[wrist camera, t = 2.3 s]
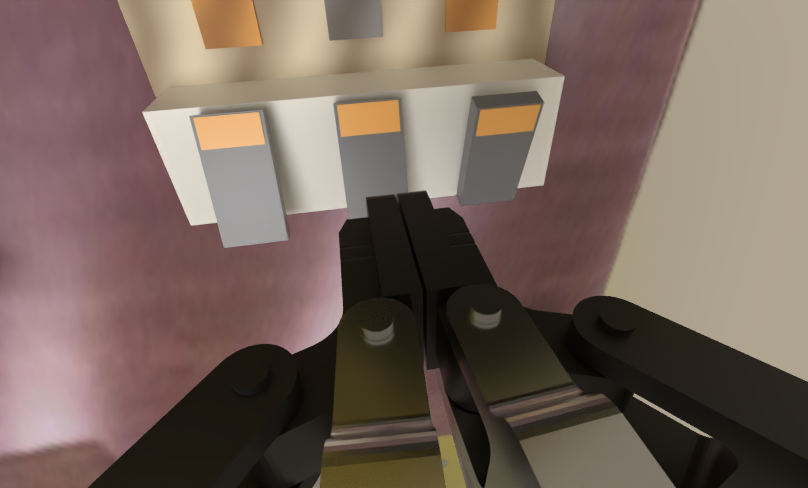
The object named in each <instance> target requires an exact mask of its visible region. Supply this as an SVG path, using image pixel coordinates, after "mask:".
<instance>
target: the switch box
mask: <svg viewBox="0 0 808 488" xmlns="http://www.w3.org/2000/svg"><path fill="white" fill-rule="evenodd" d="M564 78H565V76H564V75H562V74H560V73H558V72H556V71H555V70H553V69H551V68H549V67H547V66H546V65H544V64H542V63H540V62H538V61H537V60H535V59H521V60H509V61H496V62H483V63H471V64H458V65H445V66H433V67H420V68H408V69H395V70H382V71H370V72H357V73H344V74H332V75H319V76H306V77H294V78H281V79H269V80H256V81H243V82H231V83H218V84H205V85H193V86H180V87H168V88H167V89H166V90H165V91H164V92H163V93H162V94H161V95H160V96H159V97H158V98H157V99H155V100H154V101H153V102H152V103H151V104H150V105H149V106H148V107H147V108H146V109H145V110H144V111H143V112H142V113H143V115H144V117H145V120H146V122H147V124H148V127H149V129H150V131H151V134H152V136H153V138H154V141H155V143H156V145H157V148H158V150H159V152H160V155H161V157H162V159H163V162H164V164H165V166H166V169H167V171H168V173H169V176H170V178H171V180H172V183H173V185H174V187H175V190H176V192H177V194H178V197H179V199H180V201H181V204H182V206H183V208H184V211H185V213H186V215H187V218H188V220H189V222H190V225H200V224H209V223H217V219H216V216H215V212H214V208H213V204H212V201H211V197H210V193H209V189H208V185H207V182H206V178H205V174H204V170H203V167H202V163H201V159H200V155H199V151H198V148H197V144H196V140H195V136H194V133H193V129H192V125H191V121H190V117H189V116H192V115H198V114H209V113H221V112H232V111H244V110H255V109H266V111H267V116H268V121H269V126H270V132H271V137H272V142H273V147H274V152H275V157H276V162H277V167H278V173H279V178H280V183H281V188H282V193H283V198H284V203H285V209H286V214H296V213H305V212H314V211H322V210H331V209H340V208H347V203H346V196H345V188H344V181H343V173H342V166H341V158H340V151H339V143H338V136H337V129H336V121H335V114H334V106H333V103H336V102H347V101H359V100H370V99H382V98H393V97H400V98H401V100H402V114H403V128H404V141H405V155H406V168H407V182H408V192H415V191H424V190H425V191H427V194H428V196H429V198H436V197H444V196H453V195H456V194H457V187H458V181H459V174H460V168H461V161H462V155H463V148H464V142H465V135H466V129H467V122H468V116H469V109H470V103H471V97H472V96H483V95H495V94H506V93H517V92H529V91H537V92H538V93H539V95H540V96H541V98H542V99H543V101H544V105H543V108H542V111H541V114H540V118H539V121H538V124H537V127H536V130H535V134H534V137H533V140H532V143H531V146H530V149H529V153H528V156H527V159H526V162H525V165H524V169H523V172H522V175H521V178H520V181H519V184H518V188H523V187H532V186H540V185H544V180H545V175H546V170H547V165H548V160H549V155H550V150H551V144H552V139H553V134H554V129H555V124H556V119H557V114H558V109H559V103H560V98H561V93H562V88H563V83H564Z"/></svg>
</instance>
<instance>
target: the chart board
mask: <svg viewBox="0 0 808 488" xmlns="http://www.w3.org/2000/svg"><path fill="white" fill-rule="evenodd" d="M117 1H118V3H119V6H120V8H121V11H122V13H123V16H124V18H125V21H126V23H127V26H128V28H129V31H130V33H131V36H132V38H133V41H134V43H135V46H136V48H137V51H138V53H139V56H140V58H141V61H142V63H143V66H144V68H145V71H146V73H147V76H148V78H149V81H150V83H151V86H152V88H153V91H154V93H155V96H156V98H158V97H159V96H160V95H161V94H162V93H163V92H164V91H165V90H166V89H167V88H168V87H180V86H193V85H205V84H218V83H231V82H243V81H256V80H269V79H281V78H294V77H306V76H319V75H332V74H344V73H357V72H370V71H382V70H395V69H408V68H420V67H433V66H445V65H458V64H471V63H483V62H496V61H509V60H521V59H535V60H537V61H538V62H540V63H542V64H544V65H545V59H546V53H547V47H548V41H549V35H550V29H551V23H552V17H553V11H554V4H555V0H117Z"/></svg>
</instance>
